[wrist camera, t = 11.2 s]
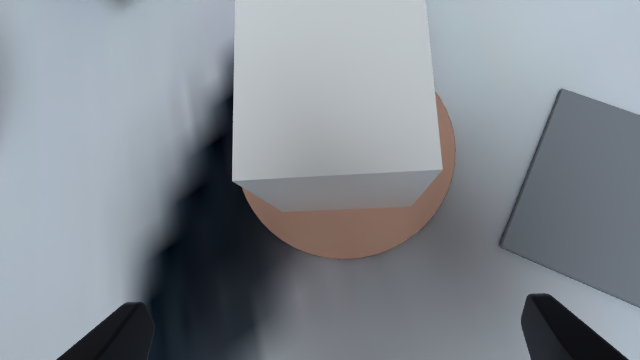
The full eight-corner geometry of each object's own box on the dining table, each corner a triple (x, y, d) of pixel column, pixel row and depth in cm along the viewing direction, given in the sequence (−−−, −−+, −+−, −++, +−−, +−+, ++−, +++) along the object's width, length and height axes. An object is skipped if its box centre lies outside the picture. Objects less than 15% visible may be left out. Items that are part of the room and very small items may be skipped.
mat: (692, 330, 20) (699, 332, 19) (499, 246, 22) (501, 246, 21) (745, 156, 21) (752, 154, 21) (559, 91, 23) (562, 88, 23)
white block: (411, 206, 22) (442, 169, 13) (282, 212, 23) (232, 180, 14) (401, 85, 24) (423, -20, 15) (281, 94, 24) (235, 0, 16)
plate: (295, 299, 22) (293, 300, 22) (208, 112, 25) (204, 109, 25) (496, 193, 22) (500, 191, 22) (385, 19, 25) (385, 14, 25)
